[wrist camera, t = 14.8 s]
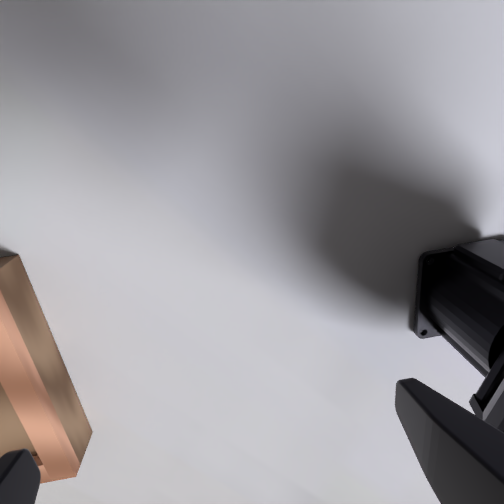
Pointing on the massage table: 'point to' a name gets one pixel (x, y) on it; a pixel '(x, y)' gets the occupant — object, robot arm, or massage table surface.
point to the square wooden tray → (36, 383)
